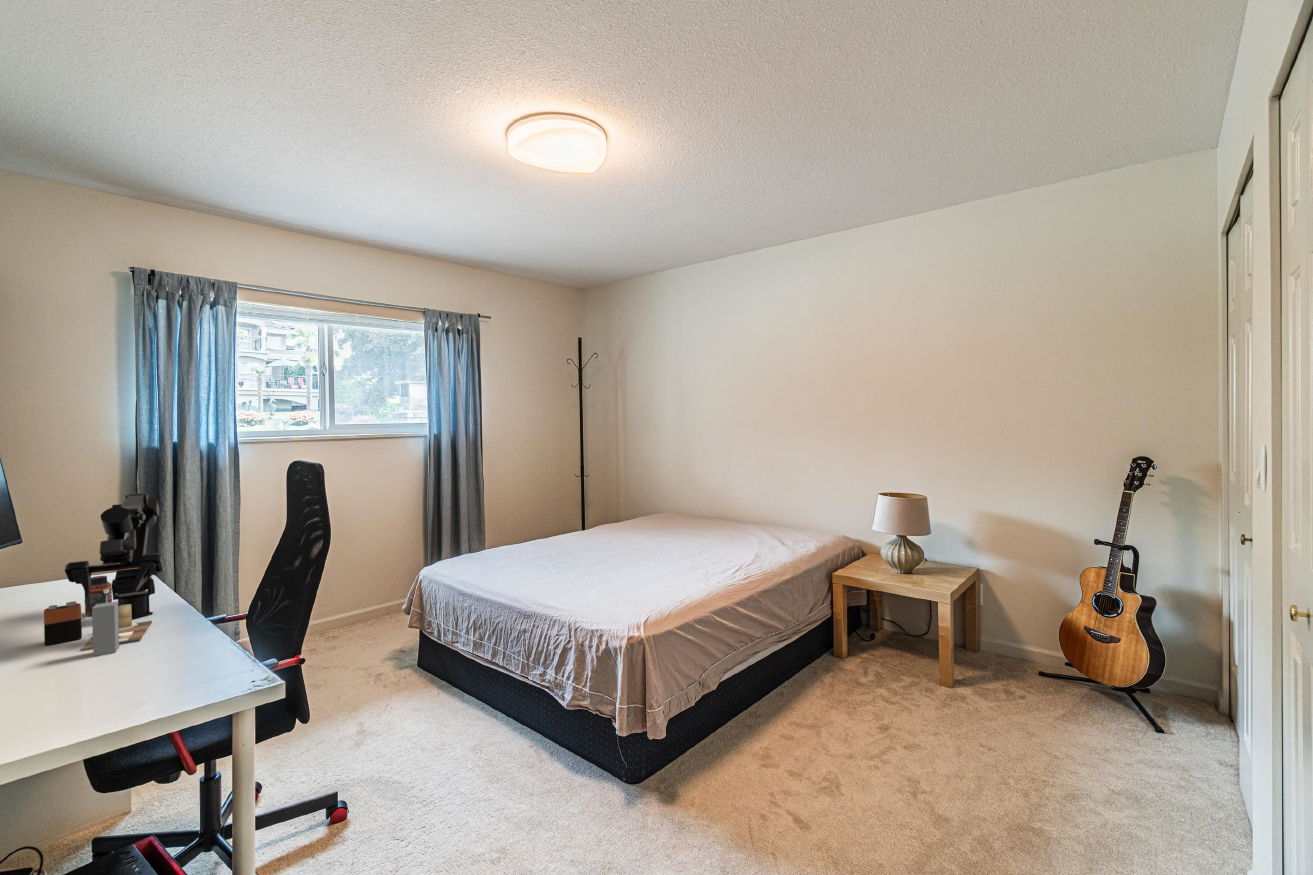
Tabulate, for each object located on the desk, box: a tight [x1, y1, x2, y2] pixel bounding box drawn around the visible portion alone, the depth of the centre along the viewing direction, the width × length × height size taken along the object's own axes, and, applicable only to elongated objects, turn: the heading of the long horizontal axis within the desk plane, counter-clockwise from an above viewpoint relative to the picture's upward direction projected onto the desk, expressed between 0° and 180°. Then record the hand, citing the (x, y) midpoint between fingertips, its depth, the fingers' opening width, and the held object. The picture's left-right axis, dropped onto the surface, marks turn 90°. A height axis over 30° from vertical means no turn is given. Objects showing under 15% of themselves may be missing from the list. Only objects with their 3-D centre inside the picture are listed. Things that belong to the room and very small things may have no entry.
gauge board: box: [80, 604, 153, 652], centre depth 153 cm, size 18×11×7 cm, turn 34°
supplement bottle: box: [84, 575, 113, 617], centre depth 174 cm, size 6×6×11 cm
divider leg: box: [91, 600, 120, 657], centre depth 141 cm, size 4×4×12 cm
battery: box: [43, 600, 83, 647], centre depth 150 cm, size 4×7×10 cm, turn 137°
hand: (111, 593), depth 147 cm, fingers open, 9 cm apart
